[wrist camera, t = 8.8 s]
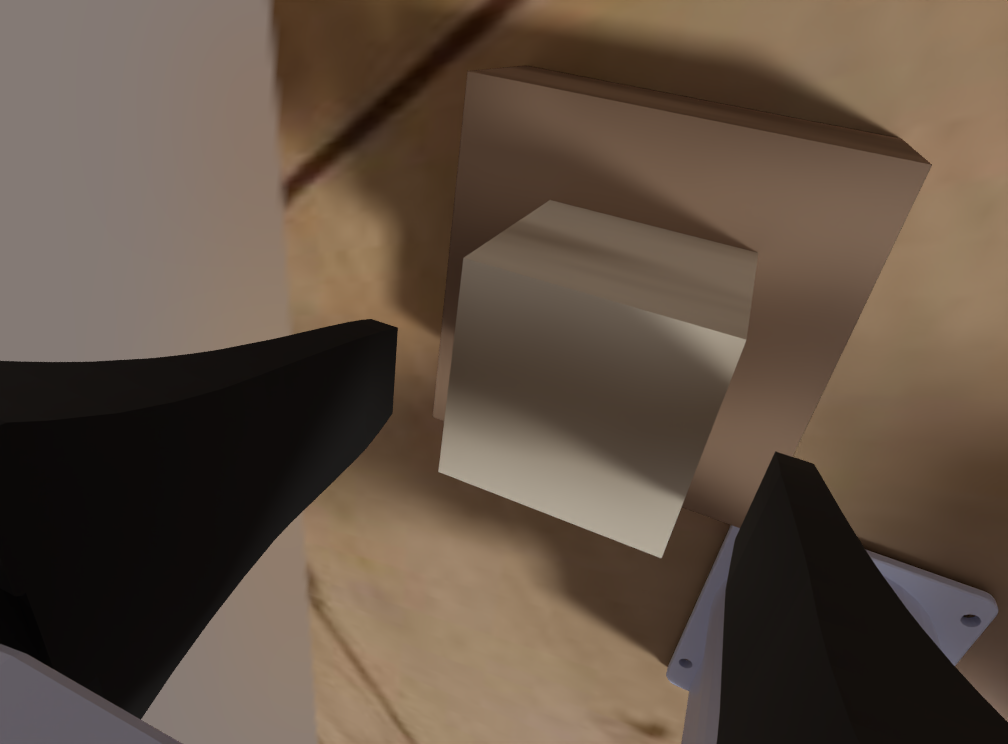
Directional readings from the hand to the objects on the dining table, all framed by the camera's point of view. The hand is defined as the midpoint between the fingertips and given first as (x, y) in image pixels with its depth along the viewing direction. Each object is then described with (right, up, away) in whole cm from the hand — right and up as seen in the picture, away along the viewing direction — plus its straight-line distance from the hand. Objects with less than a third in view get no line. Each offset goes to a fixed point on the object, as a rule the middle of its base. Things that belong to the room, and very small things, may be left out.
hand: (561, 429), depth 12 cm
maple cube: (+2, +2, +4) cm, 5 cm away
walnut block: (+4, +4, +8) cm, 9 cm away
